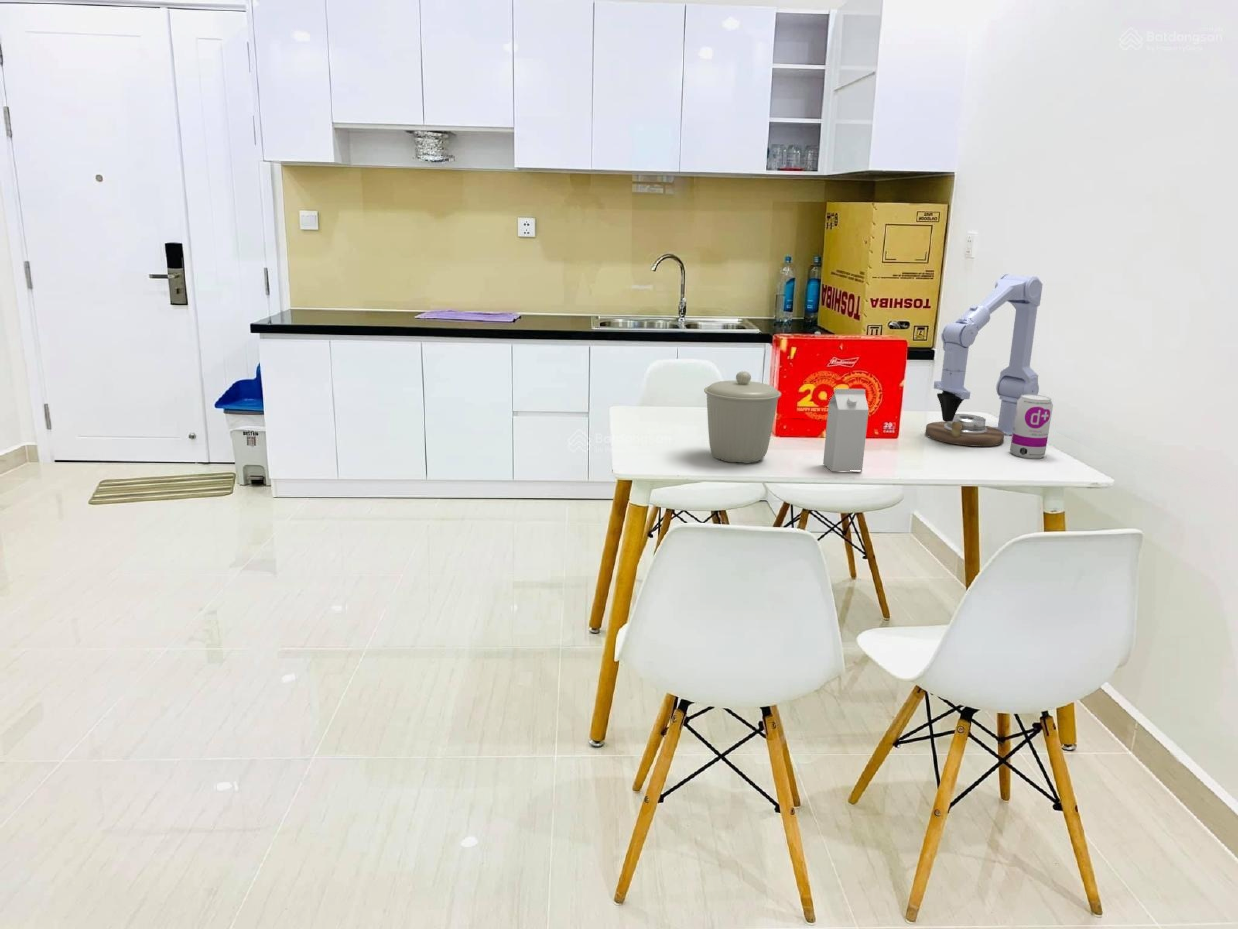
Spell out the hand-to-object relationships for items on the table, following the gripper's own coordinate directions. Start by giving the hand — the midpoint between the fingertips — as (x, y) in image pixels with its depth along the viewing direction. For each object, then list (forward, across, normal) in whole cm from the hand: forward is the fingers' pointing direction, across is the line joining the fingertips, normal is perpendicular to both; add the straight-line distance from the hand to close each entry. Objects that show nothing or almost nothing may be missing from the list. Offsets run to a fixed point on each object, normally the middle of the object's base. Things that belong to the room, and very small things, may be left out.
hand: (947, 420), depth 240 cm
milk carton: (+6, +22, -39) cm, 45 cm away
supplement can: (+6, +13, +15) cm, 21 cm away
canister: (+6, +11, -61) cm, 62 cm away
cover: (+4, -5, +8) cm, 10 cm away
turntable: (+6, -5, +8) cm, 11 cm away
